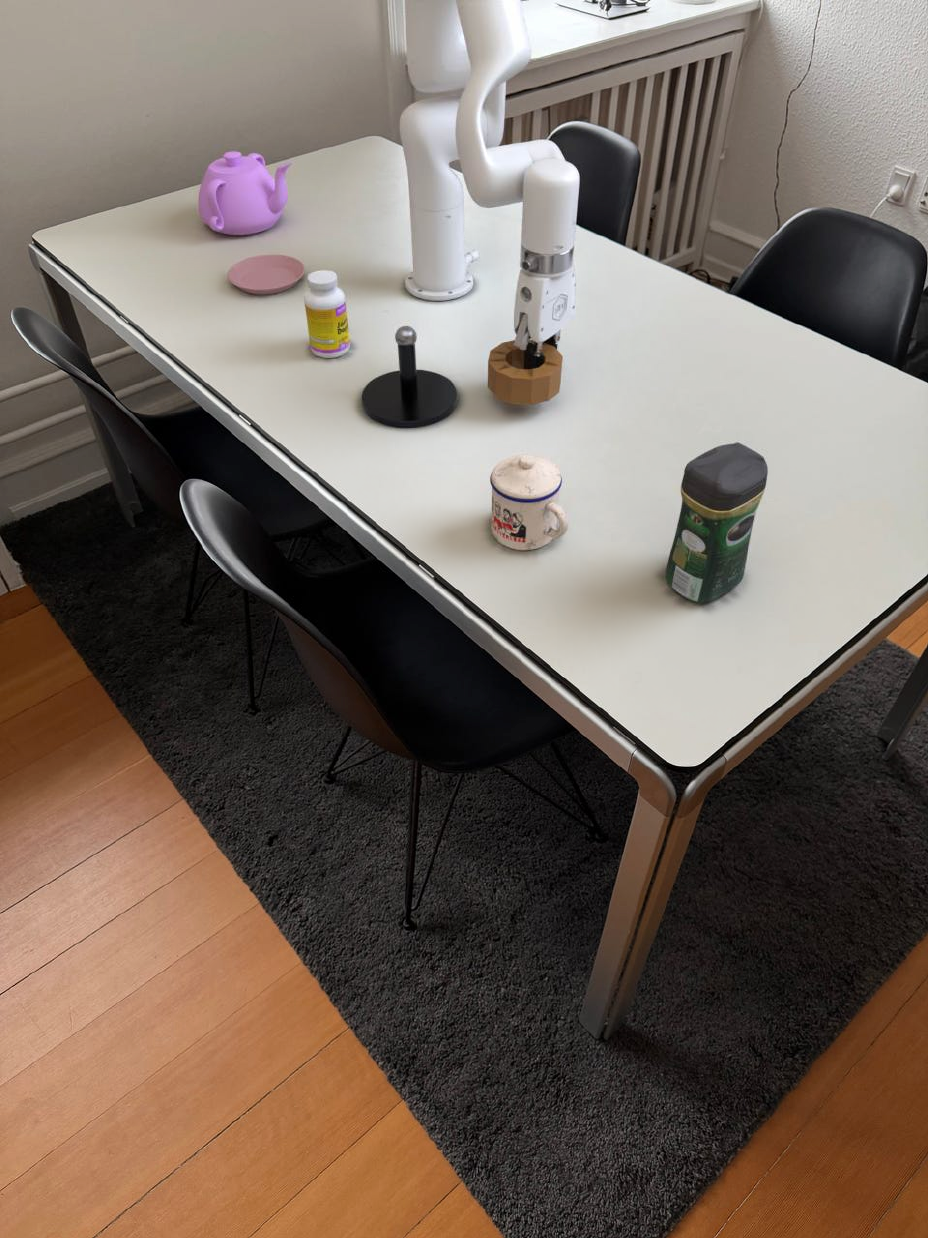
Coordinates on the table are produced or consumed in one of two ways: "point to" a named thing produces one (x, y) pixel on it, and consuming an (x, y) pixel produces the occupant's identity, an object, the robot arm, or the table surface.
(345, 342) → the supplement bottle
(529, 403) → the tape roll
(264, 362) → the table surface
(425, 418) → the stand
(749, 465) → the coffee jar
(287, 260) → the plate
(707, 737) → the table surface
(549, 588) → the table surface
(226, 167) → the teapot
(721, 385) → the table surface
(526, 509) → the teacup with lid
